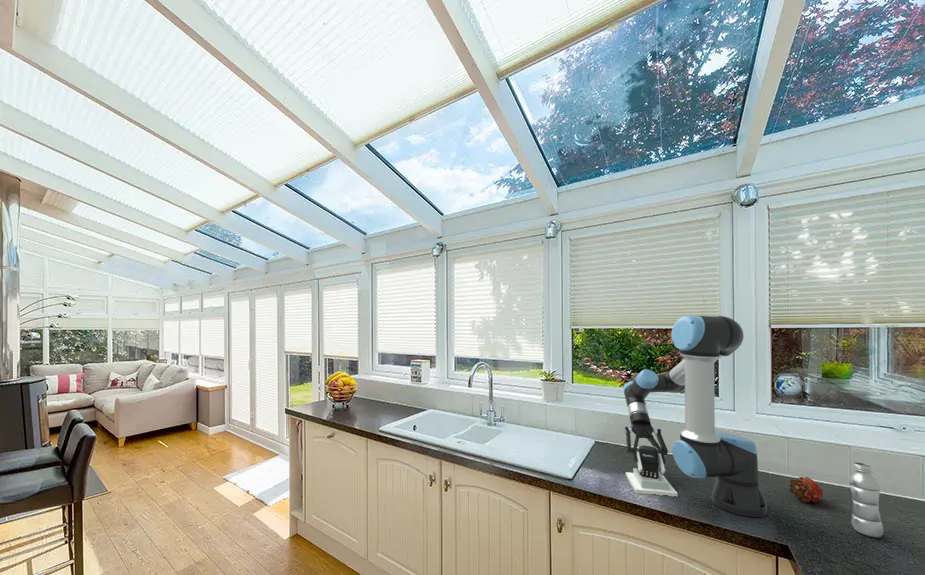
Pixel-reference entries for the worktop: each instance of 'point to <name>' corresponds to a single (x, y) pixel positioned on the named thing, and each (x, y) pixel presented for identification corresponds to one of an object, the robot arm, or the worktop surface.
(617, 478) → the worktop surface
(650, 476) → the black battery charger
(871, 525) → the plastic bottle
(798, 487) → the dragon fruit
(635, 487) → the tray
